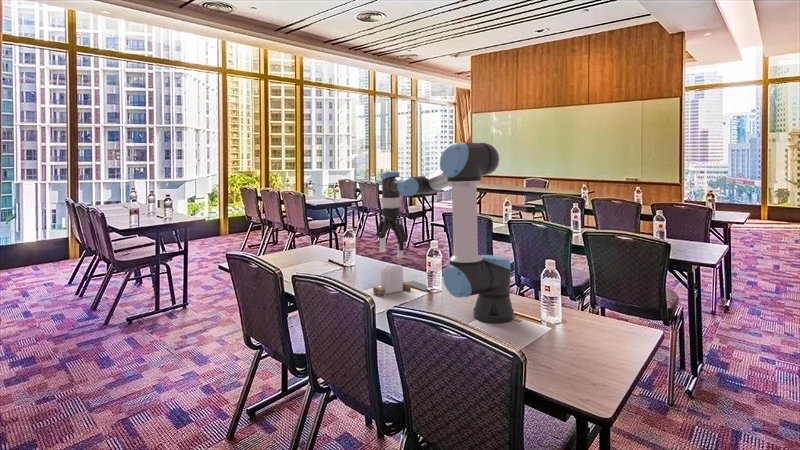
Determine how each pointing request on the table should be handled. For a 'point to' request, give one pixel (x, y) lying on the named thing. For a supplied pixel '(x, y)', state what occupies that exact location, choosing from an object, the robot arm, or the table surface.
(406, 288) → the cradle
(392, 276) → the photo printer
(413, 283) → the mat
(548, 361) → the table surface
